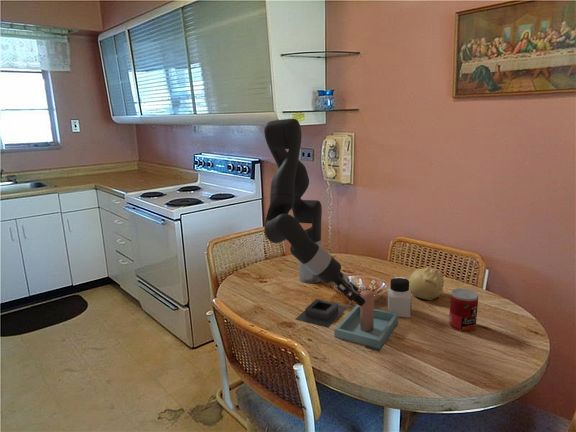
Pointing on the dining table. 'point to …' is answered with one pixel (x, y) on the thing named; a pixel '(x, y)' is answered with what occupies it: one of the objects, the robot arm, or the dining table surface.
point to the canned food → (463, 309)
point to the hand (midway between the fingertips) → (359, 297)
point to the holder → (321, 313)
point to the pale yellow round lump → (426, 283)
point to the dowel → (367, 311)
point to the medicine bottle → (399, 297)
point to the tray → (373, 339)
